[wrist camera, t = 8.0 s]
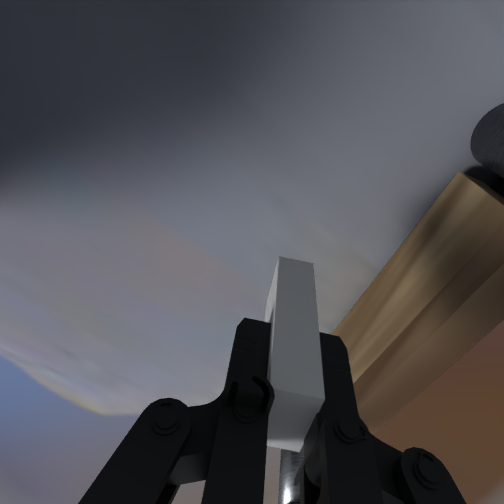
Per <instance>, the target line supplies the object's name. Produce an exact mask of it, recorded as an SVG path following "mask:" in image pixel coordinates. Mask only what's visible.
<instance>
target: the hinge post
mask: <svg viewBox="0 0 504 504" xmlns="http://www.w3.org/2000/svg"><path fill="white" fill-rule="evenodd" d="M303 460H304V444H303V446H302V448H301V450H300V452H296V451H291V450H286V449H281V461H280V479H279V496H278V504H300V481H299V483H298V485H297V486H294V480H295V476H296V474H297V472H298V470H299V468H300V466H301V464H302V462H303Z"/></svg>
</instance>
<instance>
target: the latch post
mask: <svg viewBox="0 0 504 504" xmlns="http://www.w3.org/2000/svg"><path fill="white" fill-rule="evenodd" d="M471 151H472V154H473V156H474V158H475V159H476V160H477V161H478V162H479V163H481V164H482V165H484V166H485V167H487V168H488V169H490V170H492V171H493V172H495V173H496V174H498V175H499V176H500V177H499V178H498V180H497V181H496V182H495V183H494V184H493V185H492V186H491V187H490V188H491V189H493V190H494V191H495V192H497V193H498V194H500V195H501V196H502V197H504V104H501V105H499V106H497V107H495V108H494V109H492V110H491V111H489V112H488V113H487V114H486V115H485V116H484V117H483V118H482V119H481V120H480V121H479V123H478V124H477V125H476V127H475V129H474V131H473V134H472V137H471Z"/></svg>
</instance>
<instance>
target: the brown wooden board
mask: <svg viewBox="0 0 504 504" xmlns="http://www.w3.org/2000/svg"><path fill="white" fill-rule="evenodd" d="M503 320H504V197H502V196H501V195H500V194H498V193H497V192H495V191H494V190H493V189H491V188H490V187H489V186H487V185H486V184H485V183H483V182H481V181H479V180H477V179H475V178H473V177H470V176H468V175H466V174H464V173H462V172H460V171H458V173H457V174H456V175H455V176H454V178H453V179H452V180H451V182H450V183H449V184H448V185H447V187H446V188H445V189H444V191H443V192H442V193H441V194H440V196H439V197H438V198H437V200H436V201H435V202H434V203H433V205H432V206H431V207H430V209H429V210H428V211H427V212H426V214H425V215H424V216H423V218H422V219H421V220H420V221H419V223H418V224H417V225H416V227H415V228H414V229H413V230H412V232H411V233H410V234H409V236H408V237H407V238H406V239H405V241H404V242H403V243H402V245H401V246H400V247H399V248H398V250H397V251H396V252H395V254H394V255H393V256H392V257H391V259H390V260H389V261H388V263H387V264H386V265H385V266H384V268H383V269H382V270H381V272H380V273H379V274H378V275H377V277H376V278H375V279H374V281H373V282H372V283H371V284H370V286H369V287H368V288H367V290H366V291H365V292H364V293H363V295H362V296H361V297H360V299H359V300H358V301H357V302H356V304H355V305H354V306H353V308H352V309H351V310H350V311H349V313H348V314H347V315H346V317H345V318H344V319H343V320H342V322H341V323H340V324H339V326H338V327H337V328H336V329H335V331H334V332H333V333H332V335H335V336H340V338H341V339H342V341H343V343H344V344H345V346H346V348H347V351H348V357H349V363H350V368H351V374H352V380H353V385H354V391H355V397H356V403H357V408H358V413H359V416H360V418H361V419H362V421H363V422H364V423H365V424H366V426H367V427H368V430H369V432H370V433H371V434H372V435H373V434H374V433H375V432H376V431H377V430H378V429H380V428H381V427H382V426H383V425H384V424H385V423H386V422H388V420H390V419H391V418H392V417H393V416H394V415H395V414H397V413H398V412H399V411H400V410H401V409H402V408H403V407H405V406H406V405H407V404H408V403H409V402H410V401H411V400H413V399H414V398H415V397H416V396H417V395H418V394H419V393H420V392H422V391H423V390H424V389H425V388H426V387H427V386H429V385H430V384H431V383H432V382H433V381H434V380H435V379H437V378H438V377H439V376H440V375H441V374H442V373H443V372H445V370H447V369H448V368H449V367H450V366H451V365H453V364H454V363H455V362H456V361H457V360H458V359H459V358H460V357H462V356H463V355H464V354H465V353H466V352H467V351H468V350H470V349H471V348H472V347H473V346H474V345H475V344H476V343H478V342H479V341H480V340H481V339H482V338H483V337H484V336H486V335H487V334H488V333H489V332H490V331H491V330H492V329H494V328H495V327H496V326H497V325H498V324H499V323H500V322H502V321H503Z"/></svg>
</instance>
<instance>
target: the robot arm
mask: <svg viewBox="0 0 504 504" xmlns="http://www.w3.org/2000/svg"><path fill="white" fill-rule="evenodd" d="M303 444H304V460H303V462H302V464H301V466H300V468H299V470H298V472H297V474H296V476H295V480H294V486H297V485H298V483H299V481H300V504H466V502H465V500H464V499H463V497H462V495H461V493H460V492H459V490H458V488H457V486H456V484H455V482H454V481H453V479H452V477H451V475H450V474H449V472H448V470H447V469H446V468H445V466H444V465H443V464H442V462H441V461H440V460H438V459H437V458H436V457H435V456H434V455H433V454H432V453H430V452H428V451H426V450H424V449H421V448H415V447H412V448H409V449H406V450H405V451H404V453H402V452H401V451H399V450H397V449H395V448H393V447H391V446H389V445H387V444H386V443H384V442H382V441H380V440H379V439H377V438H376V437H374V436H373V435H372V434H371V433H370V432H369V430H368V427H367V426H366V424H365V423H364V422H363V421H362V419H361V418H360V416H359V413H358V408H357V403H356V397H355V391H354V385H353V380H352V374H351V368H350V363H349V357H348V351H347V348H346V346H345V344H344V343H343V341H342V339H341V338H340V336H335V335H330V334H326V333H321V332H319V325H318V313H317V302H316V290H315V279H314V268H313V263H309V262H304V261H299V260H294V259H289V258H284V257H280V256H279V258H278V262H277V266H276V270H275V273H274V277H273V281H272V285H271V289H270V292H269V296H268V300H267V304H266V313H265V322H263V321H258V320H254V319H249V318H244V319H243V320H242V321H241V323H240V324H239V325H238V326H237V329H236V334H235V339H234V343H233V348H232V353H231V358H230V363H229V368H228V372H227V377H226V382H225V387H224V390H223V392H222V393H221V395H220V396H219V397H218V398H217V399H216V400H214V401H212V402H210V403H208V404H205V405H200V406H192V407H187V405H185V404H184V403H183V402H181V401H180V400H177V399H173V398H164V399H159V400H157V401H155V402H153V403H151V404H150V405H149V406H148V407H147V408H146V409H145V410H144V411H143V412H142V414H141V415H140V417H139V418H138V419H137V421H136V422H135V424H134V425H133V426H132V428H131V430H130V431H129V432H128V434H127V435H126V436H125V438H124V439H123V441H122V442H121V444H120V445H119V446H118V448H117V449H116V451H115V452H114V454H113V455H112V456H111V458H110V459H109V461H108V462H107V463H106V465H105V466H104V468H103V469H102V470H101V472H100V473H99V475H98V476H97V478H96V479H95V481H94V482H93V483H92V485H91V486H90V488H89V489H88V491H87V492H86V493H85V495H84V496H83V497H82V499H81V500H80V502H79V503H78V504H171V503H172V501H173V499H174V497H175V495H176V493H177V491H178V489H179V487H180V485H181V484H186V483H191V482H197V481H202V480H206V482H205V487H204V492H203V497H202V502H201V504H263V495H264V480H265V464H266V449H267V446H272V447H277V448H281V449H286V450H291V451H296V452H300V450H301V448H302V446H303Z"/></svg>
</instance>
